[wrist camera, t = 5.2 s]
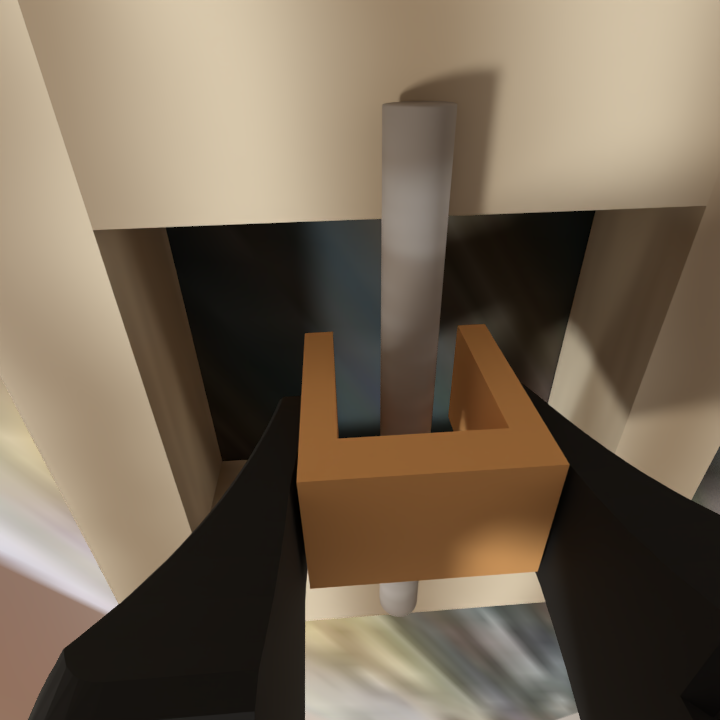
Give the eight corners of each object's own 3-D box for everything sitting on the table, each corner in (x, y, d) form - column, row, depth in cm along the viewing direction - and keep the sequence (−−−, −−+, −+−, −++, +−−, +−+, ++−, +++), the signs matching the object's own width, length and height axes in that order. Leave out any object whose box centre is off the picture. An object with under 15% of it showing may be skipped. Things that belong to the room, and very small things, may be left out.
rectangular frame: (781, -27, 11) (1087, -76, 7) (589, 506, 21) (661, 627, 16) (-41, -13, 10) (-315, -61, 6) (166, 535, 20) (122, 672, 16)
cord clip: (484, 324, 12) (569, 464, 8) (471, 415, 14) (537, 571, 10) (304, 333, 12) (296, 482, 8) (313, 424, 14) (310, 589, 10)
